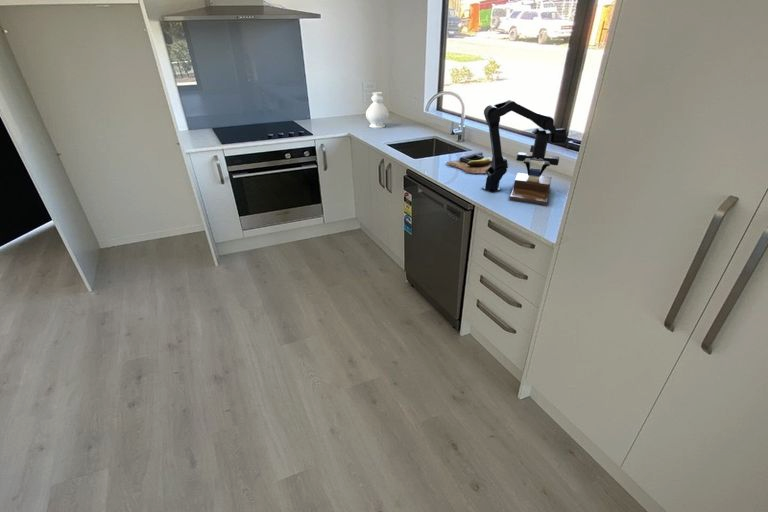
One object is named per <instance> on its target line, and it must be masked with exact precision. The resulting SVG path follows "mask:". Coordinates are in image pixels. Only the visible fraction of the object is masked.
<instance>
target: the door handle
mask: <svg viewBox="0 0 768 512" xmlns="http://www.w3.org/2000/svg"><path fill="white" fill-rule="evenodd" d="M484 157H485V156H484V153H483V152H482V151H477V152H475V153H471V154H468V155H464V156H460V157H459V158H458V160H459V161H460V162H464V163H468V162H470V161H474V160H481V159H485V158H484ZM491 161H492V160H490V162H489V163H491Z"/></svg>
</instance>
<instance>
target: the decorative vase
mask: <svg viewBox="0 0 768 512" xmlns="http://www.w3.org/2000/svg"><path fill="white" fill-rule="evenodd" d="M370 98H371V101H372V103H371V104H370V105H369V106H368V107H367V108H366V111H365V117H366V119H367V121H368V122H369V123H370V124H369V128H371V129H383V128H385V127H386V125H385V122H386V121H387V120H388V119H389V116H390V115H389V110H388V108H387V107H386V106H385V104H384V103H383V100H384V97H383V92H381V91H375V92H374V91H373V92H372V96H371V97H370Z"/></svg>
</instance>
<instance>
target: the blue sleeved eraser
mask: <svg viewBox="0 0 768 512" xmlns="http://www.w3.org/2000/svg"><path fill="white" fill-rule="evenodd" d="M541 169H542V168H534V167H533V168H532V167H530V173H529V177H528V181H535V182H538V179H539V174H540V171H541Z"/></svg>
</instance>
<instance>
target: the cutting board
mask: <svg viewBox="0 0 768 512" xmlns="http://www.w3.org/2000/svg"><path fill="white" fill-rule="evenodd" d="M492 157H493V156H491V157H489V156H488V157H487V156H486V157H485V156H484V158H485V159H481V160H474V161H470V162H468V163H464V162H460V161H459V159H457V160H450V161H447V162H446V164H447V165H449V166H451V167H455V168H458V169H461V170H462V171H463V172H465V173H469V174H486V170H487V169H488V168H490V167H491V163H489V162H490V160H492Z"/></svg>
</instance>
